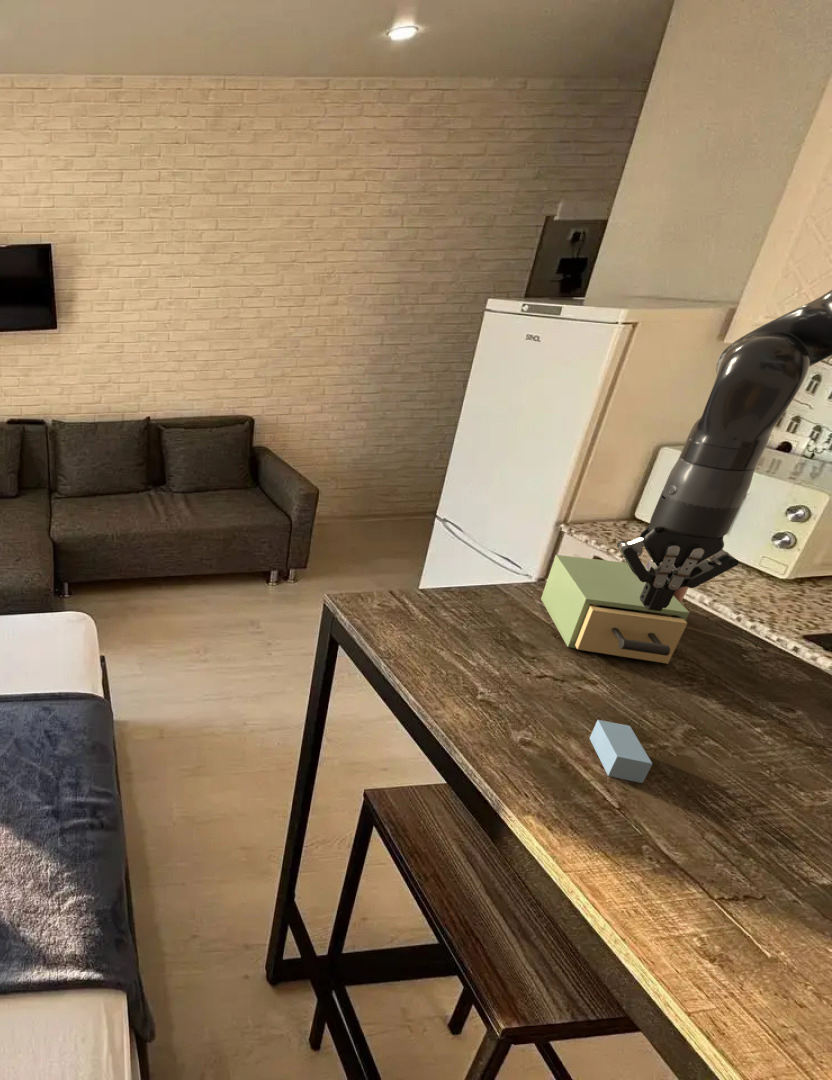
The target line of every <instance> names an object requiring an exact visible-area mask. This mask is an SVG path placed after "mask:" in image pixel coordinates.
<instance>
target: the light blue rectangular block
mask: <svg viewBox="0 0 832 1080" xmlns="http://www.w3.org/2000/svg"><path fill="white" fill-rule="evenodd" d="M589 740H590V742H591V744H592V747H593V748H594V751H595V753H596V755H597V757H598V758H599V760H600V763H601V765H602V767H603V769H604V771H605V772H606V775H607V776H608V777H611V778H615V779H621V780H624V781H628V782H629V781H631V782H635V783H639V784H643V783H644V781H645V780H646V777H647V776H648V774H649V771H650V770H651V768H652V766H653V762H652V760H651V759H650V757H649V756H648V754H647V752H646V750H645V748H644V746H643V745H642V744H641V742H640V740H639V738H638V737H637V735H636V733H635V732H634V730H633V729H632V727H631V725H629V724H628V725H627V724H623V723H617V722H612V721H611V722H610V721H608V720H607V721H606V720H601V719H597V720H596V722H595V724H594V727H593V729H592V732H591V734H590V736H589Z"/></svg>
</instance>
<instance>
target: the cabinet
mask: <svg viewBox="0 0 832 1080" xmlns="http://www.w3.org/2000/svg"><path fill="white" fill-rule="evenodd" d="M643 565H644V567H645V569H646V570H647V571H648V568H647V567H646V566H647V565H645V564H643ZM645 584H646V582H641V581H640V580H639V579H638V577H637V576H636V575H635V574H634V573H633V572H632V570H631V568H630V567H629V565H628V563H627V562H624V561H623V562H622V561H616V560H615V561H614V560H605V559H597V558H588V557H579V556H569V555H561V554H555V556H554V559H553V562H552V564H551V569H550V571H549V574H548V576H547V580H546V583H545V586H544V589H543V591H542V594H541V597H540V600H541V602H542V604H543V606H544V607H545V609H546V611H547V613H548V614H549V616H550V618H551V620H552V622H553V623H554V625H555V627H556V629H557V631H558V632H559V634H560V636H561V638H562V639H563V641H564V643H565V646H566V647H567V648H570V649H576V650H578V649H577V648H576V646H575V644H576V641H577V637H578V635H579V632H580V629H581V627H582V624H583V622H584V619H585V616H586V614H587V611H588V609H589V606H590V604H595V605H603V606H610V607H617V608H625V609H632V610H640V611H647V612H654V613H662V614H669V615H672V617H673V618H680V619H684V620H685V621H686V622H687V619H688V617H689V614H690V611H689V610H688V609H687V608H686V607H685V606H684V605H683V604H682V602H681V603H680V602H679V601H678V600H677V599H676V598H675V597H674V596H673V597H672V599H671V601H670V603H669V605H668V606H667V607H666V608H663V609H662V610H661V611H654V610H647V609H646V608H645V606H644V605H643V603H642V602H641V601H640V595H641V593H642V591H643V588H644V586H645Z"/></svg>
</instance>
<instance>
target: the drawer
mask: <svg viewBox="0 0 832 1080" xmlns="http://www.w3.org/2000/svg"><path fill="white" fill-rule="evenodd" d="M687 625H688V621H687V620H686V621H685V620H684V619H680V618H673V617H672V615H669V614H662V613H654V612H647V611H640V610H632V609H625V608H617V607H610V606H603V605H595V604H590V606H589V609H588V611H587V614H586V616H585V619H584V622H583V624H582V627H581V629H580V632H579V635H578V637H577V641H576V644H575V646H576V648H577V649H576V648H575V649H576V650H577V651H578V650H580V651H586V652H591V653H598V654H604V655H611V656H617V657H624V658H629V659H636V660H642V661H649V662H655V663H662V664H666V665H667V664H669V663H670V661H671V659H672V656H673V654H674V652H675V651H676V648H677V646H678V644H679V642H680V641H681V638H682V637H683V634H684V632H685V629H686V627H687Z"/></svg>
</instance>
